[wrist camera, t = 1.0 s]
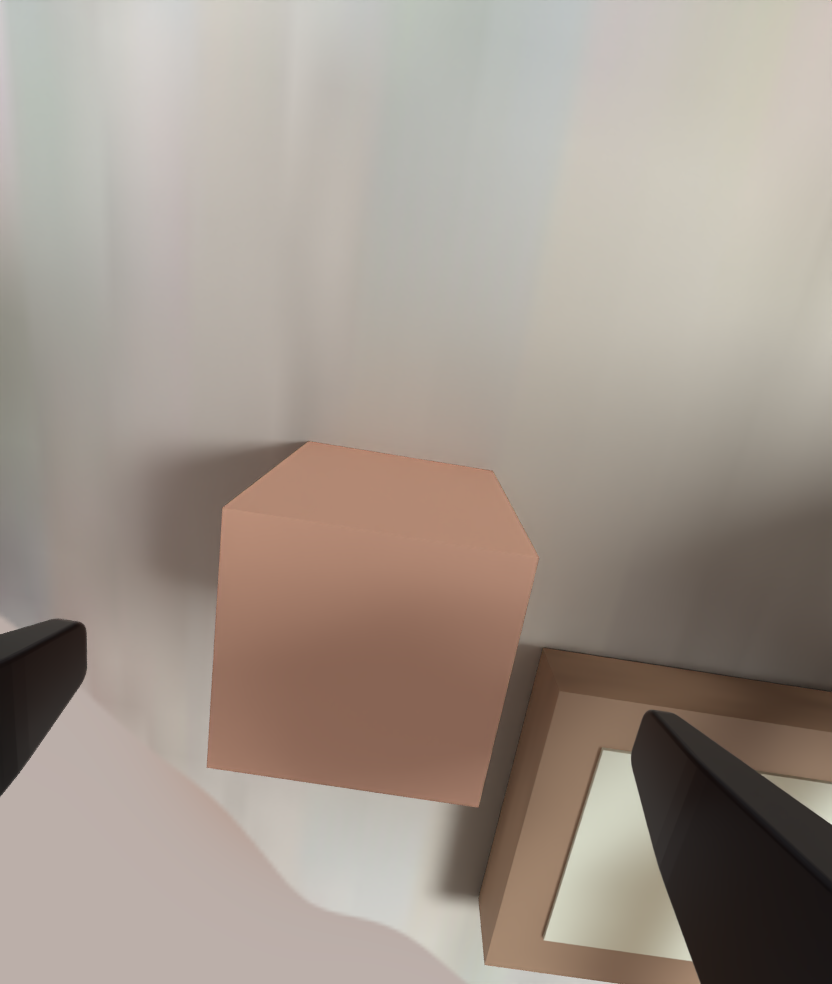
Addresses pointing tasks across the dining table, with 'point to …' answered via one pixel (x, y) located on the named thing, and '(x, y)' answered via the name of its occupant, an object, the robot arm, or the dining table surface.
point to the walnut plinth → (622, 811)
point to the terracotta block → (367, 623)
